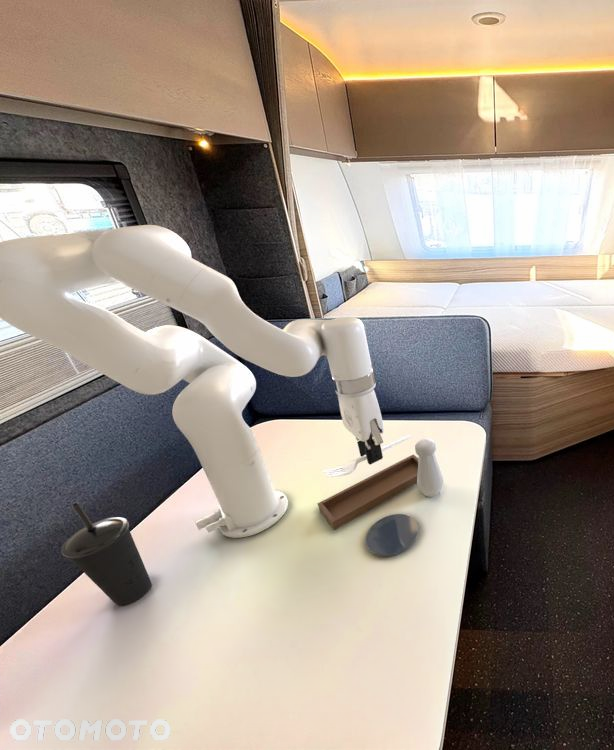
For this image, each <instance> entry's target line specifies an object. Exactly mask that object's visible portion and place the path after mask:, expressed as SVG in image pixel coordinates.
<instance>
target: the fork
mask: <svg viewBox="0 0 614 750" xmlns="http://www.w3.org/2000/svg"><path fill="white" fill-rule="evenodd" d="M411 438H413V436H412V434H408V435H406V436H404V437H401V438H399V439H397V440H395V441H392V442H390V443H388V444H386V445H383V446H381V451H382V453H383V452H385V451H387V450H389V449H391V448H393V447H395V446H397V445H400V444H402V443H403V442H405V441H407V440H409V439H411ZM364 461H367V457H366V455H364V456H362V457H361V456H360V457H357V458H355V459H353V460H351V461H348V462H346V463H345V464H343V465H341V466H338V467H334V468H330V469H322V470H321V472H322V473H323V474H324V475H325V476H326V477H331V478H334V477H335V478H336V477H344V476H348V475H351V474H352V473H354V471H355V470H356V469H357V467H358V464H360V463H362V462H364Z"/></svg>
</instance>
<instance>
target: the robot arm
mask: <svg viewBox="0 0 614 750" xmlns="http://www.w3.org/2000/svg"><path fill="white" fill-rule="evenodd" d="M115 283H120V284H122V285H124V286H126V287H128V288H131V289H132V290H134V291H137V292H139V293H141V294H143V295H145V296H147V297H149V298H151V299H153V300H156V301H157V302H159V303H162V304H164V305H165V306H167V307H170V308H172V309H174V310H175V311H178V312H180V313H182V314H184V315H186V316H189V317H190V318H192V319H194V320H196V321H198V322H200V323H201V324H202V325H204V326H205V328H206V329H207V330H208V331H209V332H210V333H211V335H212V336H214V337H215V338H216V339H217V340H218V341H219V342H220V343H221V344H223V345H224V347H226V348H227V349H228V350H229V351H230V352H232V353H233V354H235V355H237V356H238V357H240V358H242V359H243V360H244V361H247V362H249V363H252V364H254V365H256V366H258V367H260V368H262V369H264V370H266V371H269V372H271V373H274V374H276V375H280V376H283V377H288V378H295V377H296V378H297V377H302V376H305V375H307V374H309V373H310V372H312V371H313V370H314V368H315V366H316V365H317V363H318V361H319V359H320V358H321V357H322V356H325V357H326V359H327V363H328V367H329V371H330V375H331V378H332V383H333V387H334V390H335V394H336V395H337V400H338V406H339V412H340V416H341V420H342V424H343V426H344V427H345V429H346V430H347V431H348V432H350V433H351V434H352V435H353V436H354V437H355V440H356V443H357V447H358V451H359V452H358V453H359V455H360V457H362V456H364V455H366V457H367V459H366V462H367V464H368V465H373V464H375V463H376V462H379V461H381V460H383V458H384V456H383V452H382V451H381V447H382V444H383V443H384V439H383V437H382V434H383V433H384V431H385V426H384V422H383V417H382V412H381V409H380V405H379V402H378V398H377V394H376V391H375V388H376V387H377V386H376V384H377V383H376V380H375V373H374V369H373V364H372V359H371V354H370V350H369V344H368V341H367V340H368V339H367V334H366V329H365V326H364V323H363V322H362V320H361V319H360V318H357V317H354V316H342V317H335V318H332V319H313V318H301V319H296V320H292V321H291V322H290V321H289V323H287V324H286V325H285V326H284V328H283V329H282V328H280V327H278V326H276V325H275V324H272V323H270V322H268V321H266V320H265V319H264V318H262V317H260V316H259V315H258V314H256V313H254V312H253V311H252V310H251V309H250V308H249V307H248V306H247V305H246V304H245V302H244V301H243V300H242V298H241V296H240V294H239V293H240V292H239V291H238V288H237V286H236V284H235V282H234V281H233V279H231V278H230V277H228V276H227V275H225V274H223V273H221V272H219V271H217V270H216V269H213V268H212V267H210V266H208V265H205V264H204V263H202V262H200V261H198V260H197V259H194V258H193V257H192V251H191V249H190V247H189V245H188V244H187V242H186V241H185V240H184V238H182V237H181V236H180V235H178V234H177V233H176V232H174V231H172V230H170V229H168V228H167V227H163V226H160V225H156V224H155V225H154V224H143V225H142V224H141V225H131V226H122V227H117V228H113V229H103V230H91V231H79V232H78V231H77V232H67V233H57V234H49V235H48V234H47V235H37V236H26V237H19V238H12V239H8V240H3V241H0V319H1V320H2V321H4V322H6V323H7V324H9V325H10V326H12V327H14V328H16V329H17V330H20V331H21V332H23V333H25V334H27V335H30V336H31V337H34V338H35V339H38V340H40V341H42V342H45V343H46V344H49V345H50V346H53V347H54V348H56V349H58V350H60V351H62V352H64V353H66V354H68V355H69V356H71V357H72V358H75V359H76V360H77V361H79V362H81V363H83V364H85V365H86V366H88V367H90V368H92V369H94V370H95V371H97V372H99V373H101V374H102V375H104V376H106V377H108V378H109V379H111V380H112V381H114V382H116V383H118V384H120V385H122V386H124V387H126V388H127V389H129V390H131V391H133V392H136V393H139V394H141V395H146V396H154V395H160V394H163V393H165V392H167V391H169V390H170V389H172V388H173V387H174V386H176V385H177V384H178V383H180V382H181V381H185V382H186V383H188V385H186V386H185V387H184V388H183V389H182V390H181V392H180V393H178V395H177V396H176V398H175V400H174V402H173V405H172V409H171V410H172V411H171V412H172V414H171V415H172V419H173V422H174V423H175V425H176V427H177V428H178V430H179V431H180V432H181V433H182V434H183V436H184V437H185V438H186V440H187V441H188V442H189V444H190V445H191V447H192V449H193V451H194V453H195V455H196V457H197V460H198V461H199V463H200V465H201V467H202V469H203V472H204V474H205V476H206V477H207V478H206V479H207V480H208V482H209V483H208V484H209V485H210V486H211V490H212V491H213V495H214V496H215V498H216V500H217V502H218V504H217V506H218V507H217V508H218V509H216V510H214V511H213V513H211V514H210V515H206V516H204V517H202V518H200V519H197V520H195V521H194V522H195V525H196V527H197V530H198V531H201V530H203V529H204V528H205V530H206V532H207V533H210V532H213V531H215V530H216V529H218V528H219V531H220V533H222V535H223V536H225V537H227V538H232V539H233V538H234V539H237V538H241V539H242V538H246V537H250V536H253V535H256V534H259V533H260V532H264V531H265V530H267V529H268V528H270V527H272V526H273V525H274V524H276V523H277V522H278V521H279V520H280V519H282V517H283V516H284V515H285V513H286V511H287V510H288V507H289V500H288V498H287V495H286V494H285V493H284V492H282V491H280V490H276V489H275V487H274V484H273V481H272V478H271V476H270V473H269V470H268V467H267V464H266V461H265V459H264V456H263V454H262V451H261V448H260V446H259V443H258V440H257V438H256V435H255V434H254V431H253V430H252V428H251V426H249V424H247V423H246V421H245V420H244V418H243V410H244V409H245V408H246V406H247V405H248V403H249V402H250V400H251V399H252V397H253V396H254V394H255V392H256V389H257V380H256V377H255V375H254V374H253V373H252V371H251V370H250V369H249V368H248V367H247V366H246V365H245V364H243V363H242V362H240V361H239V360H238V359H236V358H234V357H233V356H232V355H230V354H229V353H227V352H226V351H224V350H223V349H221V348H220V347H219V346H217V345H215V344H214V343H212V342H211V341H210V340H209V339H206V338H205V337H204V336H202V335H200V334H199V333H197V332H195V331H193V330H191V329H188V328H185V327H184V326H183V327H182V326H178V325H169V324H168V325H161V326H157V327H154V328H152V329H149V330H147V331H143V330H141V329H140V328H138V327H136V326H134V325H133V324H131V323H129V322H128V321H126V320H125V319H124V318H122V317H120V316H119V315H118V314H116V313H113V312H112V311H111V310H108V309H106V308H104V307H100V306H98V305H95V304H93V303H90V302H86V301H84V300H81V299H79V298H77V297H76V296H74V295H73V294H74V293H78V292H81V291H85V290H88V289H91V288H95V287H99V286H103V285H109V284H115Z"/></svg>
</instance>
